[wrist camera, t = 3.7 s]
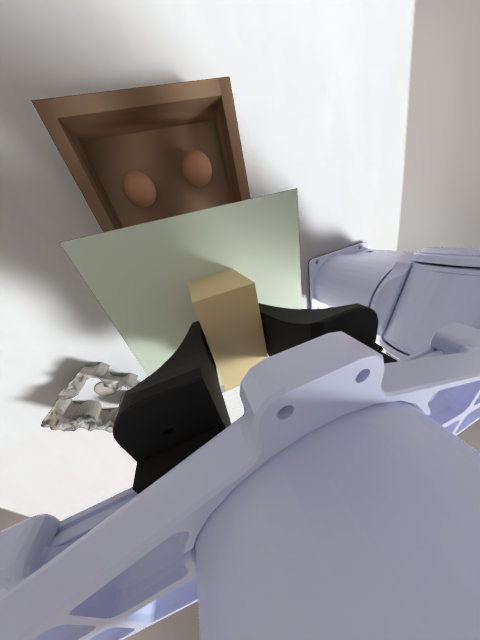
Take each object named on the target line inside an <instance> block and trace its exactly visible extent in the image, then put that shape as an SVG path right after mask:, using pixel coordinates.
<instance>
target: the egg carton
mask: <svg viewBox="0 0 480 640" xmlns="http://www.w3.org/2000/svg"><path fill="white" fill-rule="evenodd" d="M109 367H110V365H108V364H106V363H103V362H100V363H99V364H98V365H96V366H84V367H83V368H82V369H81V370H80V372H79V373H78V374H77V375H76V377H75V378H74V380H72V381H71V382H70V383H69V385H68V386H67V388H64V389H63V390H62V391H61V392H60V393H59V395H58V397H57V400H56V403H55V405H54V407H53V408H52V409H51V411H50V412H49V413H48V414H47V416H46V417H45V418H44V420H43V421H42V424H41V426H43V427H50V429H51V430H62V431H75V430H76V429H78V428H84V429H87V430H89V431H92V430H94V429H96V430H105V431H107V432H113V427H114V423H115V420H116V417H117V414H118V411H119V408H120V405H121V402H122V399H123V397H124V394H125V393H124V394H123V396H122V398H121V401H120V404H119V407H118V408H115V409H112V410H111V411H110V410H103V409H102V405H101V404H100V403H99V402H98V401H94V400H90V401H86V402H83V403H82V404H79V403H75V402H73V401H72V398H73V397H75V396H77V395H78V393H79V392H80V390H81V389H82V387H83V386H84V384H85V382H86V380H87V379H89V378H99V379H100V380H101V381H103V382H100V383H98V384H96V385H95V387H94V388H95V389H94V390H95V392H96V393H97V394H99V395H102V396H106V395H111V394H113V393H114V392H115V391H118V390H121V389H122V388H123V387H124V386H125V387H127V389H129V390H130V389H131V388H133V387H134V386H136V385H137V384H139V383H138V382H137V377H138V375H135V374H133V373H129V374H127V375H126V376H121V377H119V376H114V375H113V374H111V373H110V371H109Z"/></svg>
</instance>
